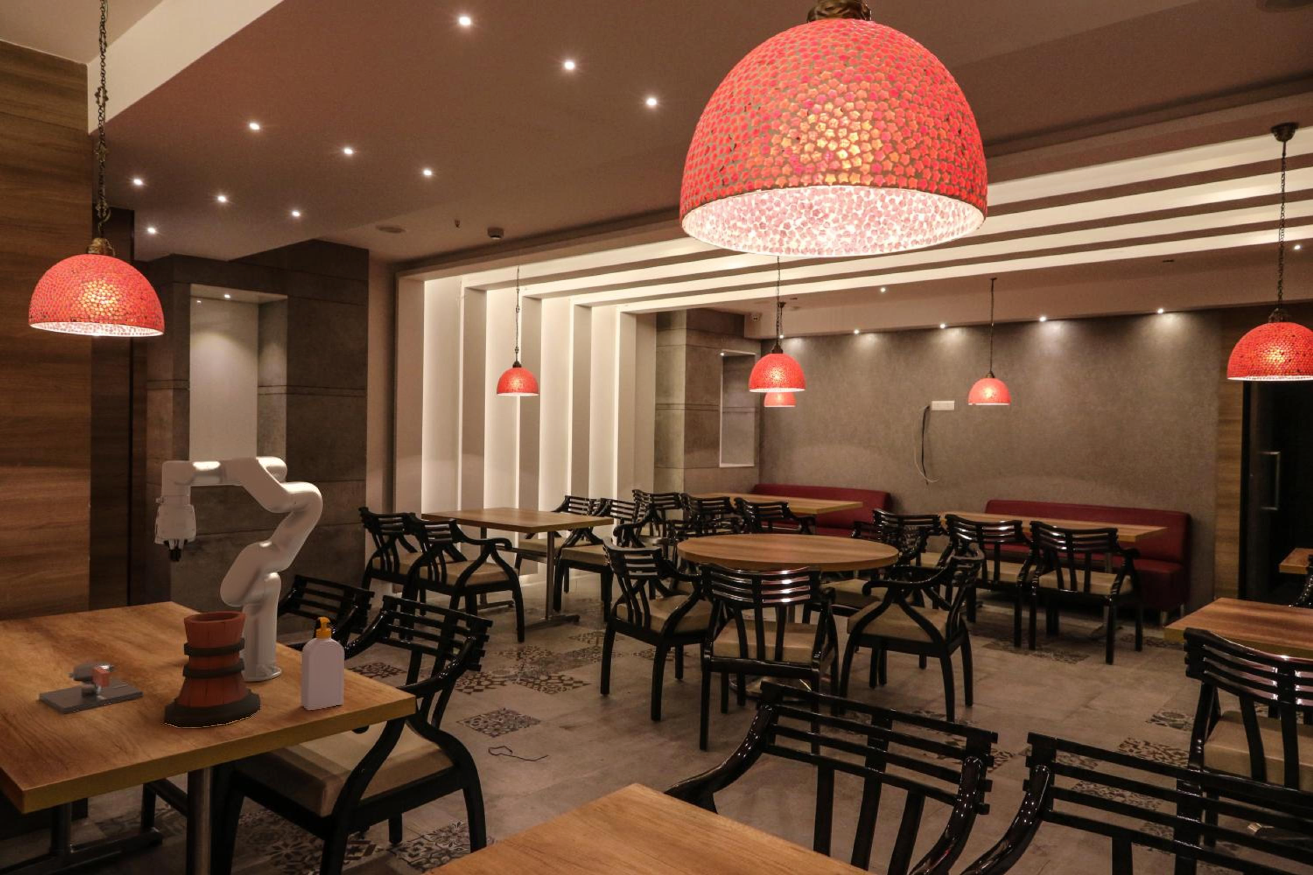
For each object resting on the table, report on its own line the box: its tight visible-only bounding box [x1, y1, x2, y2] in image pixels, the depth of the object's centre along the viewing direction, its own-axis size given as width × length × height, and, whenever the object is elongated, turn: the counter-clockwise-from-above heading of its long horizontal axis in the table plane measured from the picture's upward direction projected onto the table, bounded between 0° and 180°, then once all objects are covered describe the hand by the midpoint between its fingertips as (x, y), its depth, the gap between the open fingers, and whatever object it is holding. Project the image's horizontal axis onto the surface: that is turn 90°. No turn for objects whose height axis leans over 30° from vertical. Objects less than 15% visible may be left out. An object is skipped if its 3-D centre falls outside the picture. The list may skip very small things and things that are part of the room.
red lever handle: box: [67, 661, 116, 687], centre depth 212 cm, size 16×10×4 cm, turn 49°
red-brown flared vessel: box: [163, 610, 261, 727], centre depth 207 cm, size 22×25×25 cm
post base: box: [38, 678, 144, 715], centre depth 215 cm, size 18×18×5 cm
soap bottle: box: [300, 616, 345, 711], centre depth 213 cm, size 9×7×23 cm
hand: (174, 561), depth 245 cm, fingers closed
